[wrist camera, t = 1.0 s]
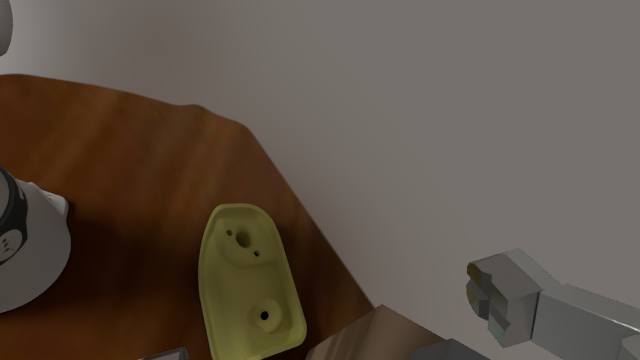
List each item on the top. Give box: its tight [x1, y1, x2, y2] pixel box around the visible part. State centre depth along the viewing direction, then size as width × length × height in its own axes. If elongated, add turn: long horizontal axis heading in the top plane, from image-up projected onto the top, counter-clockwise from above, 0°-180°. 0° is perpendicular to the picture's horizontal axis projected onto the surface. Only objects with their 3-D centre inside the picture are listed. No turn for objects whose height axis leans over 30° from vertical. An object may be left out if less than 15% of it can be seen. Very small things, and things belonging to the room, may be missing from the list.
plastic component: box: [198, 204, 307, 360], centre depth 51 cm, size 20×7×10 cm
